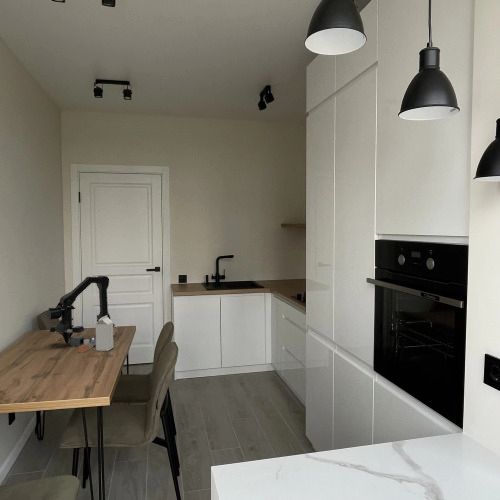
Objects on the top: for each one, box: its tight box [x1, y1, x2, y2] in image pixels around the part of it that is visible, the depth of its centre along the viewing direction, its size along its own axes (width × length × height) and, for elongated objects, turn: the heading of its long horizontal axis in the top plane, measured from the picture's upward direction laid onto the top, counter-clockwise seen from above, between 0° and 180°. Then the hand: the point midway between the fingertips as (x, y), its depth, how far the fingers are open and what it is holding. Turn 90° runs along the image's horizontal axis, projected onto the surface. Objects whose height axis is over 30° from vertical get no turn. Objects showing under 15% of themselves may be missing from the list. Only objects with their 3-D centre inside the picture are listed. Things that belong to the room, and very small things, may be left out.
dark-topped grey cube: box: [69, 335, 85, 348], centre depth 239 cm, size 5×6×5 cm
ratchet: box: [78, 336, 96, 354], centre depth 233 cm, size 16×8×5 cm, turn 173°
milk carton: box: [95, 315, 114, 352], centre depth 231 cm, size 7×7×19 cm
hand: (67, 343), depth 240 cm, fingers closed
